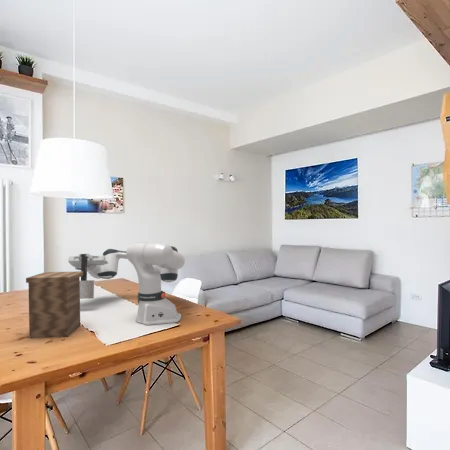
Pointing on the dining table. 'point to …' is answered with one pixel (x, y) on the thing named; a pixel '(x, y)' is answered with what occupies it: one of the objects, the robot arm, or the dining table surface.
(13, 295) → the dining table surface
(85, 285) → the turner
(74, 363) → the dining table surface
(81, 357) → the dining table surface
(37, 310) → the stand
